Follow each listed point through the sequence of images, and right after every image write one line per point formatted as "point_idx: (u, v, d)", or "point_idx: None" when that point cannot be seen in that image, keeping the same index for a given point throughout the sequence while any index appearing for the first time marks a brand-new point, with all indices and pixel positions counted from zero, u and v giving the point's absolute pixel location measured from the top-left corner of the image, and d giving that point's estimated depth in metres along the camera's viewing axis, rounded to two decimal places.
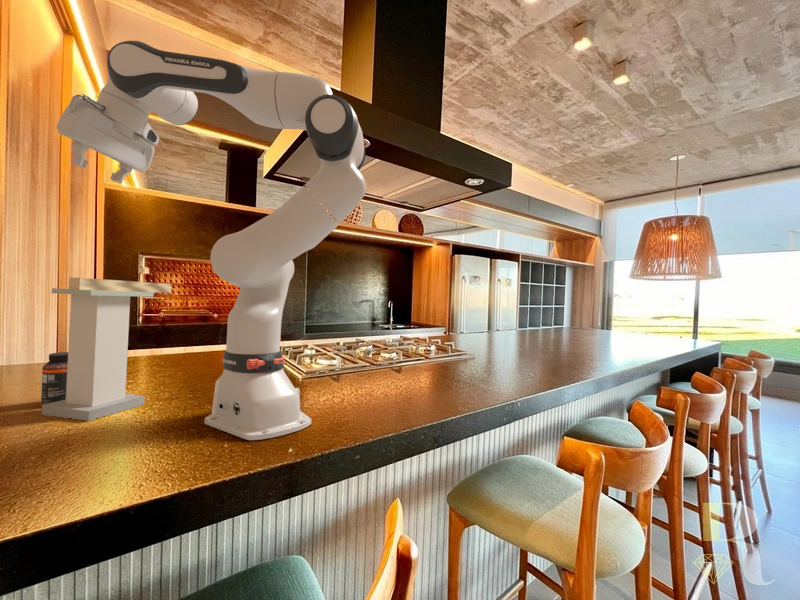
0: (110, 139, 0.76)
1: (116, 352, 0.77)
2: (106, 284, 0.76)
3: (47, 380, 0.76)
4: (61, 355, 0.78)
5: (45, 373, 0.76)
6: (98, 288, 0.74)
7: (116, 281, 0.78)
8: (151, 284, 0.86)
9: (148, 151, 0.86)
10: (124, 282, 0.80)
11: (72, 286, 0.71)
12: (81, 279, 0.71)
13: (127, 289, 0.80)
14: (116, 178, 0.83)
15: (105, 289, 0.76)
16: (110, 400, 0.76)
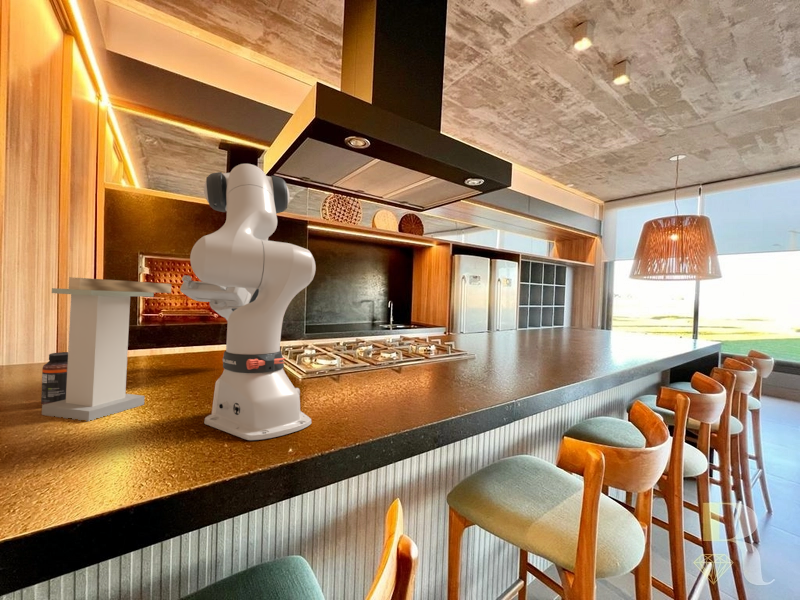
0: None
1: (116, 352, 0.77)
2: (106, 284, 0.76)
3: (47, 380, 0.76)
4: (61, 355, 0.78)
5: (45, 373, 0.76)
6: (98, 288, 0.74)
7: (116, 281, 0.78)
8: (151, 284, 0.86)
9: None
10: (124, 282, 0.80)
11: (72, 286, 0.71)
12: (81, 279, 0.71)
13: (127, 289, 0.80)
14: None
15: (105, 289, 0.76)
16: (110, 400, 0.76)
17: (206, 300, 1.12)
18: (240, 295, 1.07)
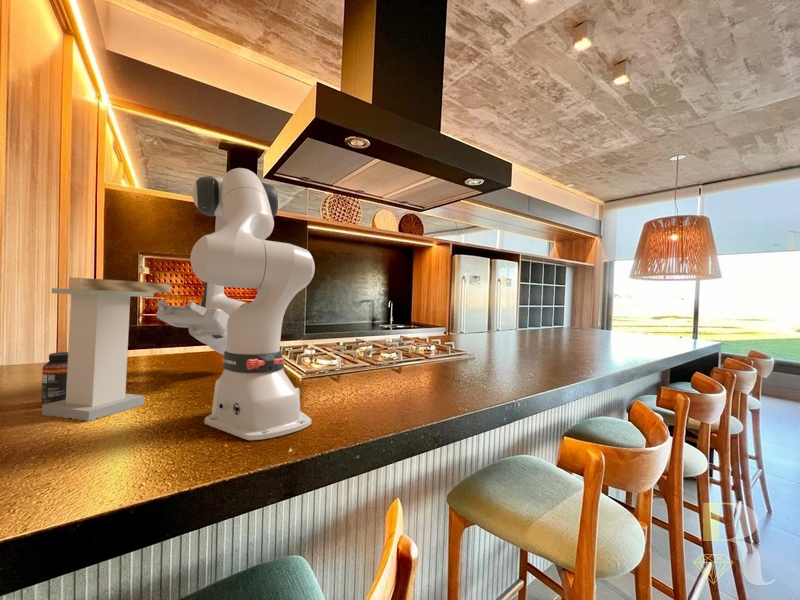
0: None
1: (116, 352, 0.77)
2: (106, 284, 0.76)
3: (47, 380, 0.76)
4: (61, 355, 0.78)
5: (45, 373, 0.76)
6: (98, 288, 0.74)
7: (116, 281, 0.78)
8: (151, 284, 0.86)
9: None
10: (124, 282, 0.80)
11: (72, 286, 0.71)
12: (81, 279, 0.71)
13: (127, 289, 0.80)
14: None
15: (105, 289, 0.76)
16: (110, 400, 0.76)
17: (185, 326, 1.04)
18: (220, 321, 0.98)
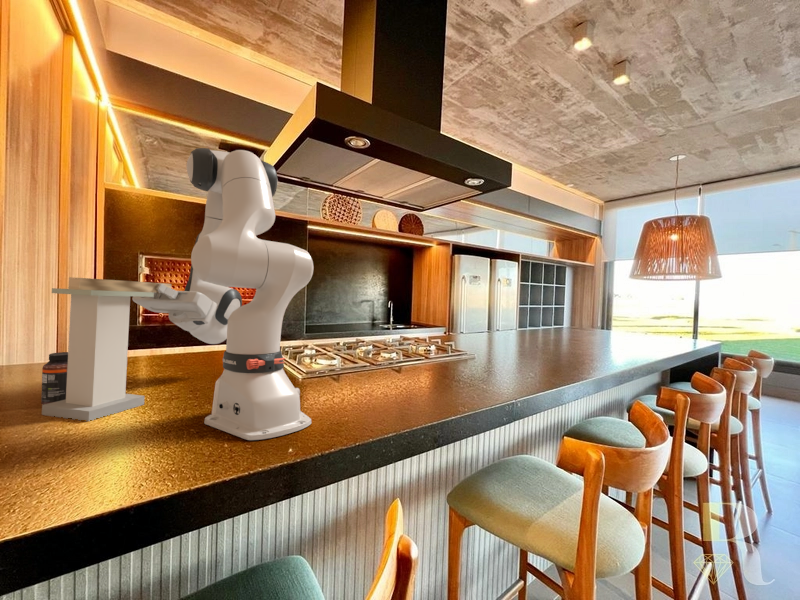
0: None
1: (116, 352, 0.77)
2: (106, 284, 0.76)
3: (47, 380, 0.76)
4: (61, 355, 0.78)
5: (45, 373, 0.76)
6: (98, 288, 0.74)
7: (116, 281, 0.78)
8: (151, 284, 0.86)
9: None
10: (123, 282, 0.80)
11: (72, 286, 0.71)
12: (81, 279, 0.71)
13: (127, 289, 0.80)
14: None
15: (105, 289, 0.76)
16: (110, 400, 0.76)
17: (164, 311, 0.97)
18: (201, 306, 0.92)
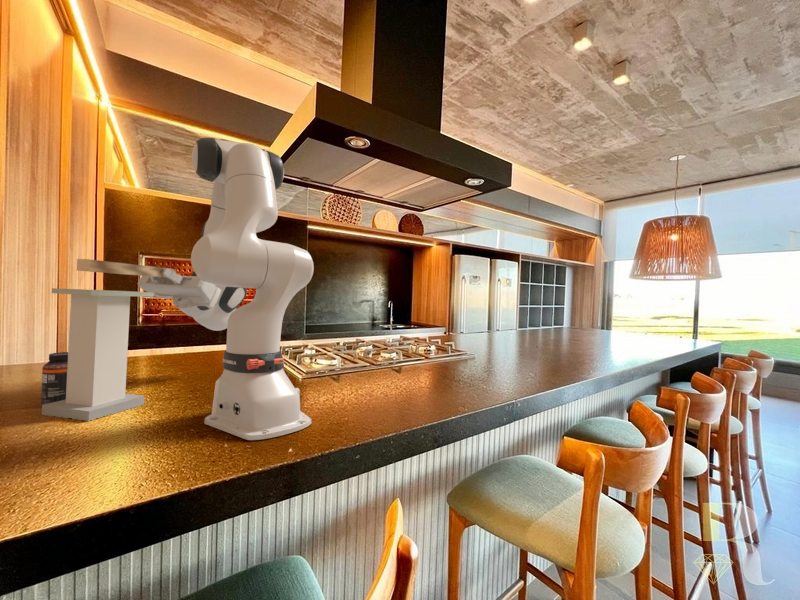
0: None
1: (116, 352, 0.77)
2: (113, 266, 0.77)
3: (47, 380, 0.76)
4: (61, 355, 0.78)
5: (45, 373, 0.76)
6: (105, 270, 0.76)
7: (123, 264, 0.79)
8: (156, 268, 0.88)
9: None
10: (130, 265, 0.81)
11: (80, 267, 0.72)
12: (89, 260, 0.72)
13: (133, 272, 0.82)
14: None
15: (112, 271, 0.77)
16: (110, 400, 0.76)
17: (169, 297, 0.98)
18: (205, 291, 0.93)
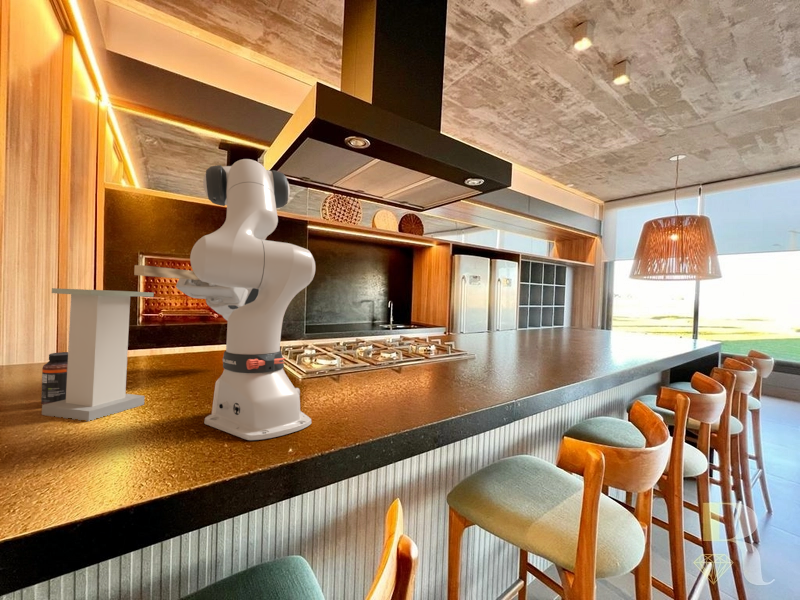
0: None
1: (116, 352, 0.77)
2: (162, 271, 0.90)
3: (47, 380, 0.76)
4: (61, 355, 0.78)
5: (45, 373, 0.76)
6: (157, 274, 0.88)
7: (170, 269, 0.92)
8: None
9: None
10: (175, 270, 0.93)
11: (137, 272, 0.85)
12: (145, 266, 0.85)
13: (178, 276, 0.94)
14: None
15: (162, 275, 0.89)
16: (110, 400, 0.76)
17: (202, 297, 1.11)
18: (236, 292, 1.05)
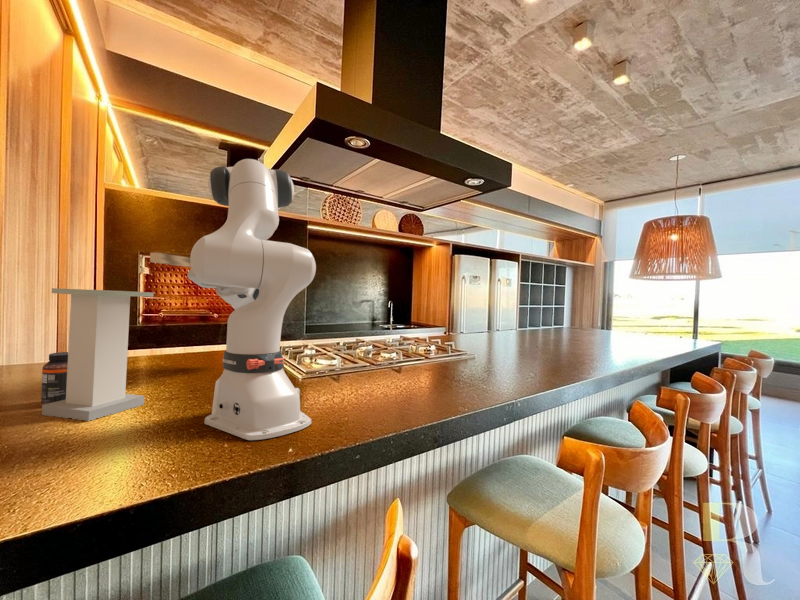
0: None
1: (116, 352, 0.77)
2: (176, 259, 0.93)
3: (47, 380, 0.76)
4: (61, 355, 0.78)
5: (45, 373, 0.76)
6: (171, 262, 0.92)
7: (183, 257, 0.96)
8: None
9: None
10: (188, 258, 0.97)
11: (153, 259, 0.89)
12: (160, 254, 0.89)
13: (190, 264, 0.98)
14: None
15: (176, 263, 0.93)
16: (110, 400, 0.76)
17: (212, 286, 1.15)
18: None
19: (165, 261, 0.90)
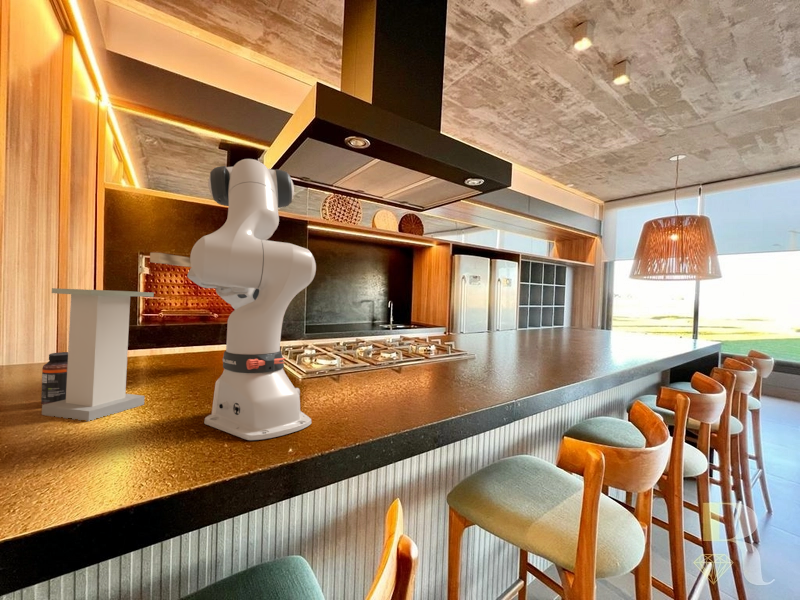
0: None
1: (116, 352, 0.77)
2: (176, 259, 0.93)
3: (47, 380, 0.76)
4: (61, 355, 0.78)
5: (45, 373, 0.76)
6: (171, 262, 0.92)
7: (183, 257, 0.96)
8: None
9: None
10: (188, 258, 0.97)
11: (153, 259, 0.89)
12: (160, 254, 0.89)
13: (190, 264, 0.98)
14: None
15: (176, 263, 0.93)
16: (110, 400, 0.76)
17: (212, 286, 1.15)
18: None
19: (165, 261, 0.90)
